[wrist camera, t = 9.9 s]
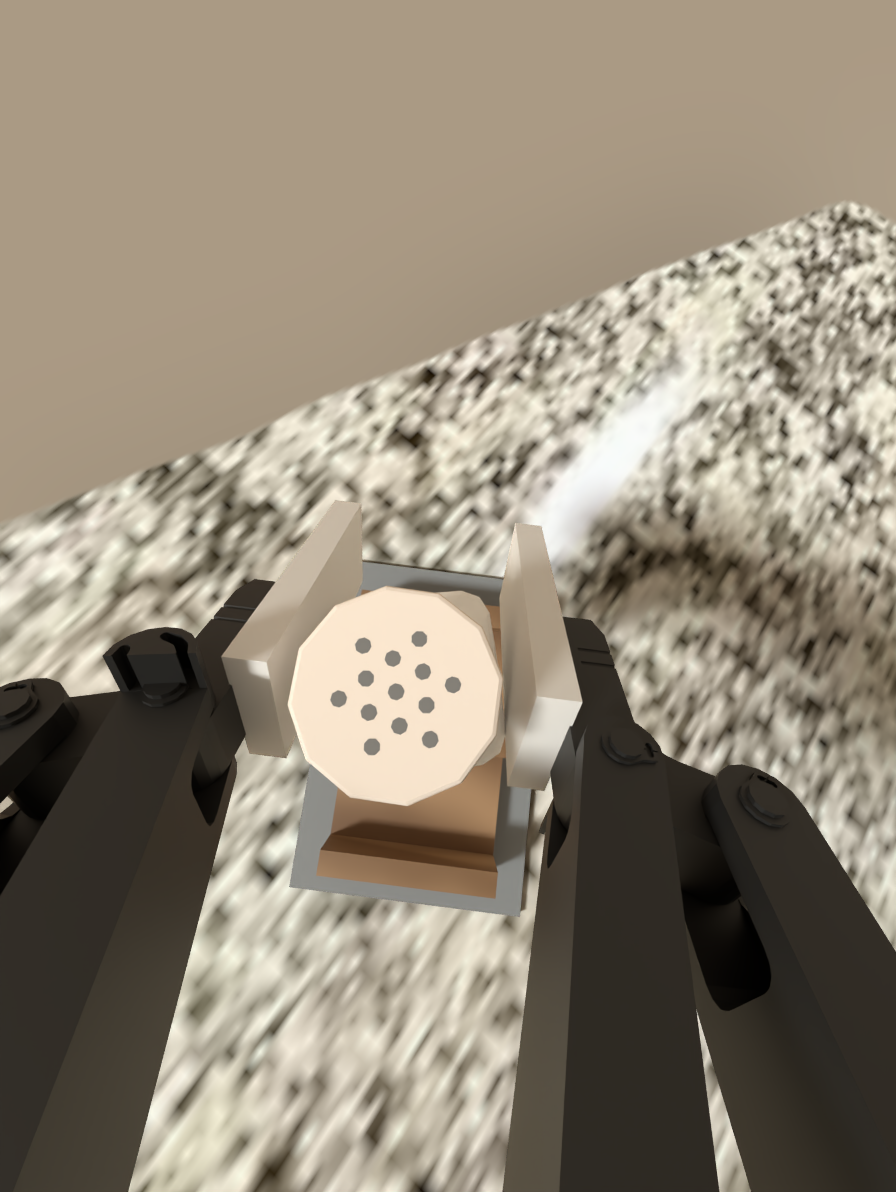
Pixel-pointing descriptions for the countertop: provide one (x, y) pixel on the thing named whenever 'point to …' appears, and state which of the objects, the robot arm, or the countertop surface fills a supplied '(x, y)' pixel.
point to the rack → (423, 831)
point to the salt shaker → (399, 694)
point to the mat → (511, 799)
